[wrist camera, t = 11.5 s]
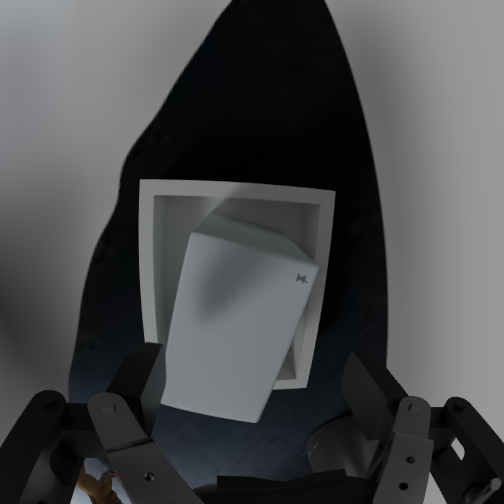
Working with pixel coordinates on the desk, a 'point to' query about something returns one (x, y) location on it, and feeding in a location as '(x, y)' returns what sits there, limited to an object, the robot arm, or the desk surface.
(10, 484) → the robot arm
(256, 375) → the skincare box
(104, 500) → the lion figurine
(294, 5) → the desk surface
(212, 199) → the tray
